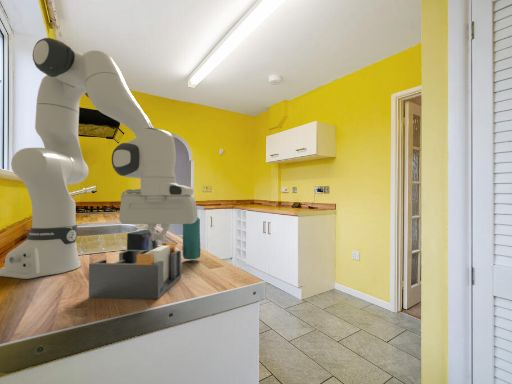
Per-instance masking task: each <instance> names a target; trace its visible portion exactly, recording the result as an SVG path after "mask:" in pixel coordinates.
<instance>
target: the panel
mask: <svg viewBox="0 0 512 384" xmlns="http://www.w3.org/2000/svg"><path fill="white" fill-rule="evenodd" d="M145 254H153V264H155V263H156V262H158V261H163V282H164V281H166V280H167V279H168V278H169V277H170V246H163V245H162V244H161V245H159V246H158V247H157V248H155V249H153V250H151V251H149V252H147V253H145Z"/></svg>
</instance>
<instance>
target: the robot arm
mask: <svg viewBox="0 0 512 384" xmlns="http://www.w3.org/2000/svg"><path fill="white" fill-rule="evenodd" d="M32 61H33V63H34V65H35V67H36V68H37V69H38V71H40V72H42V73H43V74H45V76H43V78H42V79H41V81H40V84H39V88H38V92H37V97H36V106H35V109H36V110H35V121H34V122H35V125H34V128H35V131H36V133H37V134H38V136H39V138H40V139H41V141H42V142H43V146H44V147H25V148H21V149H20V150H18V151H16V152H15V153H14V155H13V156H12V158H11V163H10V167H11V169H12V172H13V173H14V175H16V176H17V177H18V178H19V179H20V180H21V181H22V182H23V184H24V186H25V187H26V190H27V193H28V195H29V198H30V203H31V216H32V217H31V218H32V219H31V220H32V221H31V222H32V224H31V225H32V226H31V228H30V229H26V230H24V233H23V235H27V236H26V238H25V239H26V240H24V241H23V242H22V243H20V244H18V246H16V247H15V248H14V249H12V250H10V251H9V252H8V253H7V254H6V256H5V260H4V267H1V268H0V277H6V278H15V279H24V280H28V279H29V280H30V279H34V278H38V277H44V276H50V275H58V274H62V273H66V272H70V271H73V270H76V269H79V268H80V267H82V263H81V260H80V256H79V252H78V246H77V236H78V225H77V224H76V223H77V222H76V221H77V219H76V215H77V214H76V213H77V211H76V207H77V205H76V201H75V199H74V198H73V197H72V196H71V194H70V192H69V188H68V186H72V185H75V184H76V185H77V184H80V183H82V182H83V181H85V180H86V179H87V178H88V175H89V172H90V170H89V166H88V164H87V162H86V161H85V160H84V156H83V153H82V149H81V144H80V139H79V138H80V136H79V126H80V125H79V122H80V121H79V120H80V118H79V117H80V101H81V98H82V96H83V95H85V96H86V97H87V98H88V99H89V101H90V102H91V104H92V105H93V107H95V109H96V110H97V111H99V112H100V113H101V114H103V115H105V116H107V117H109V118H111V119H112V120H115V121H117V122H118V123H119V124H122V125H124V126H125V127H126V128H128V129H130V131H132V133H133V134H134V135H135V138H133V139H131V140H130V141H127V142H122V143H119V144H118V145H117V146H116V147H115V148H114V149H113V151H112V154H111V165H112V169H114V171H115V172H116V174H117V175H118V176H121V177H125V178H134V179H140V188H139V189H138V188H137V189H125V191H123V192H122V193H121V195H120V207H119V217H118V219H119V221H120V224H122V225H147V230H149V231H150V233H151V234H152V241H158V242H163V241H164V242H165V241H166V234H167V232H168V231H169V229H170V228H171V227H170V226H171V225H173V224H174V225H175V224H176V225H183V224H192V223H194V222H195V221H196V220H197V217H198V209H197V208H198V207H197V202H196V199H195V198H194V196H193V195H194V189H193V188H192V187H190V186H187V185H183V184H181V183H177V178H176V173H175V166H176V163H177V161H176V160H177V158H176V157H177V156H176V153H177V151H176V145H175V138H174V136H173V134H171V132H169V131H166V130H164V129H161V128H160V129H158V128H155V127H154V126H153V123H152V122H151V120H150V118H149V117H148V115H147V114H146V113H145V112H144V110H143V109H142V107H141V106H140V104H139V103H138V102H137V100H136V99H135V97H134V96H133V94H132V93H131V91H130V90H129V89H130V88H129V87H128V85H127V83H126V80H125V78H124V76H123V74H122V72H121V70H120V68H119V67H118V65H117V64H116V62H115V61H114V60H113V58H112V57H111V56H110V55H109V54H107V53H105V52H103V51H101V50H89V51H87V52H82V51H80V50H78V49H76V48H74V47H71V46H69V45H67V44H65V42H63V41H60V40H57V39H54V38H51V37H44V38H40V39H39V40H38V41H37V42H36V43H35V45H34V47H33V50H32ZM158 224H159V225H160V226H161V227H160V228H161V229H162V230H161V232H160V233H159V232H158V233H157V231H158V230H157V229H156V228H157V225H158Z"/></svg>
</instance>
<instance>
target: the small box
mask: <svg viewBox="0 0 512 384" xmlns="http://www.w3.org/2000/svg"><path fill="white" fill-rule="evenodd" d="M156 231H157V233H159V230H156ZM126 234H127V236H126V237H127V238H126V250H153V249H155V248H157V247H159V246H158V242H159V241H152V234H151V233H150V231H149V229H142V230H136V231H132V232H128V233H126Z"/></svg>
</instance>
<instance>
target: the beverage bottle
mask: <svg viewBox="0 0 512 384" xmlns="http://www.w3.org/2000/svg"><path fill="white" fill-rule="evenodd" d="M181 249H182V250H181V254H182V258H183V259H184V260H196V259H197V260H198V259H199V258H201V257H200V256H201V218H199V216H197V220H196V221H195V222H194V223H192V224H182V247H181Z"/></svg>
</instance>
